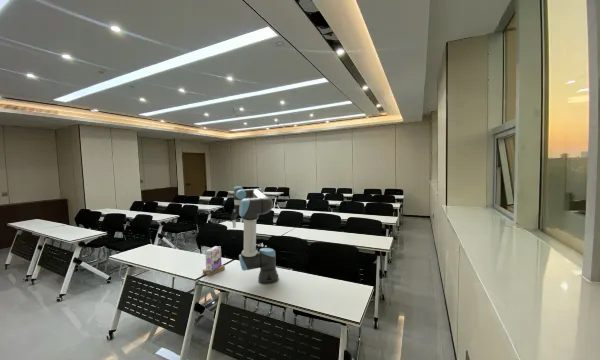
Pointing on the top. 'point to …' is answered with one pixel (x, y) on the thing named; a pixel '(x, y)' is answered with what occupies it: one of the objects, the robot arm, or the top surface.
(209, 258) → the candy box
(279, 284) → the top surface
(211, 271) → the plinth
